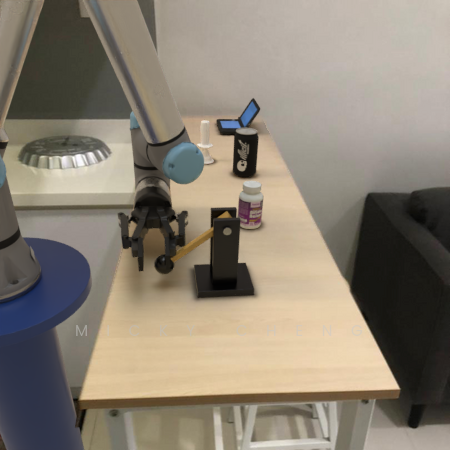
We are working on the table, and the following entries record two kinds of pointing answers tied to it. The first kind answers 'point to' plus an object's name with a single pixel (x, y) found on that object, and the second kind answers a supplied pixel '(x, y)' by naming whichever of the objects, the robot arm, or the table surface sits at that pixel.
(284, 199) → the table surface
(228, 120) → the game console
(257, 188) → the pill bottle
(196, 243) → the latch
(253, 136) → the beverage can
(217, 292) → the stand
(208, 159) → the candle
